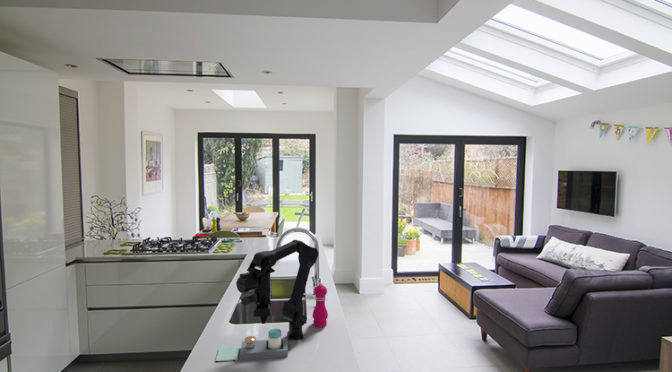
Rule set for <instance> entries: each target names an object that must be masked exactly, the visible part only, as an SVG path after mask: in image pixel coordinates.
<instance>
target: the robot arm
mask: <svg viewBox="0 0 672 372" xmlns="http://www.w3.org/2000/svg"><path fill="white" fill-rule="evenodd" d="M295 253H297V254H298V256H297V260H298V264H299V267H298V270H297V272H296V273H297V274H296V277H295V281H294V285H293V288H292V292H291V295H290V298H289V299H288V300H287V301H286V300H285V301H284V302H283V307H282V309H281V311H282V312H281V314H282V317H283V319H284V320H285V321H286V322H288V331H287V340H300V339H301V340H302V339H304V333H303V326H305V325H306V324H307V320H308V318H307V317H306V316H305V315H304V314H303V312H304V306H303V297H304V293H305V291H306V288H307V287H306V286H307V282H308V279H309V274H310V273H311V268H312V267H313V266H314V265H315V264H316V263H317V260H318V258H319V250H318V249H317V248H316V247H313V246H310V245H308V244H306V243H305V242H303V240H299V239H292V240H291V241H289V242H287V243H285V244H283V245H281V246H279V247H277V248H274V249H271V250H263V251H259V252H257V253H255V254H254V255H253V258H252V260H251V262H250V263H249V266H248V267H247V270H246V272H245V273H240V274H239V277H238V278H237V280H236V282H235V283H236V284H235V285H236V289H237V290H238V291H239V293H240V294H241V296H240V301H241V302H240V303H241V305H242V306H243V307H246V306H248V305H251V304H252V303H253V304H255V306H254V307H253V317H254V318H256V317H257V318H258V317H259V318H260V321H261V322H260V323H261V324H262V325H265V324H266V322H267V320H268V317H270V316H271V315H272V310H271V309H272V302H271V299H272V298H273V297H272V296H273V293H272V290H271V289H272V286H271V285H272V284H271V273H275V271H276V270H275V269H274V268H273V267H274V266H276V263H277V262H278V261H280V260H282V259H284V258H287V257H288V256H290V255H292V254H295ZM258 268H259V269H258Z"/></svg>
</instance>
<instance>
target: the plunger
mask: <svg viewBox="0 0 672 372" xmlns="http://www.w3.org/2000/svg"><path fill="white" fill-rule="evenodd" d="M244 341H245V343H246V344H247V349H254V343H255V342H256V341H257V337H256V336H254V335H253V336H252V335H249V336H247V337H245V338H244Z"/></svg>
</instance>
